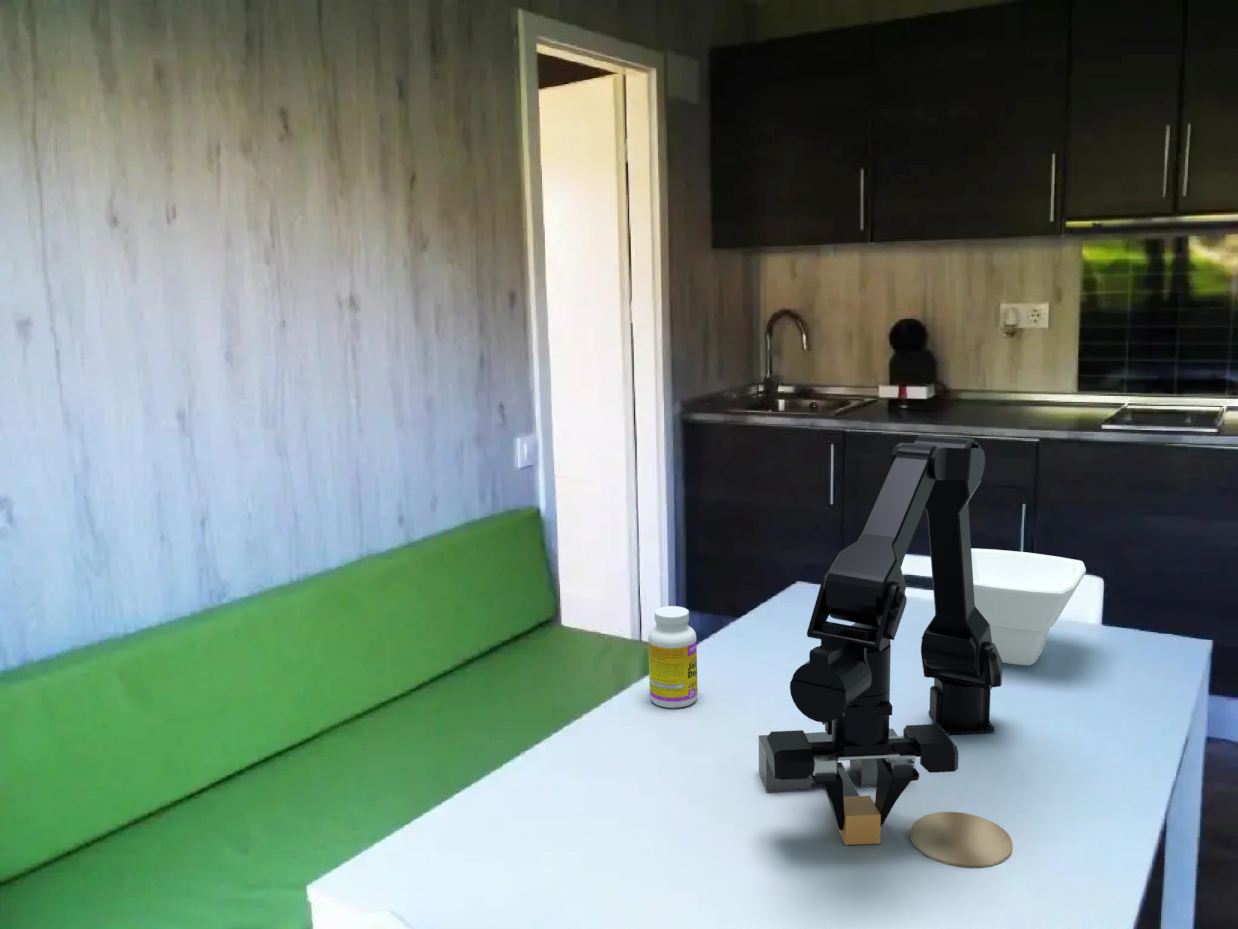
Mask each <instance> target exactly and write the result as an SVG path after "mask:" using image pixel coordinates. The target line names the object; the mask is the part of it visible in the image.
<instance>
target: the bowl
mask: <svg viewBox="0 0 1238 929" xmlns="http://www.w3.org/2000/svg"><path fill="white" fill-rule="evenodd" d="M971 554H972V570H973V586H974V601H975V607H976V608H977V609H978V611H979V612H980V613H981V614H982V615H983V617H984V618H985V619H986V620H987V622H988V623H989V625H990V631H991V638H992V643H994V644H995V646H996V648H997V650H998V653H999V655H1000V657H1001V660H1002V662H1003V664H1011V665H1018V666H1031V665H1033V664H1035V663H1036V661H1037V660H1038V659H1039V657H1040V656H1041V654H1042V653H1043V649H1044V646H1045V644H1046V641H1047V638H1048V636H1049V635H1048V634H1049V631H1050V629H1051V628H1053V627H1054V625H1055V624H1056V623H1057V621H1058V619H1059V618H1060V616H1061V615H1062V612H1063V611H1064V610H1065V607H1066V606H1067V604H1068V602H1069V601H1070V600H1071V598H1072V596H1073V595H1074V593H1075V591H1076V590H1077V588H1078V586H1079V585H1080V583H1081V581H1082V579H1083V578H1084V577H1085V574H1086V572H1087V569H1086V566H1085V563H1084V562H1083V561H1082V560H1080V559H1073V558H1068V557H1062V556H1057V555H1056V556H1054V555H1049V554H1042V553H1033V552H1025V551H1017V550H1016V551H1014V550H1003V549H993V548H991V549H990V548H972V547H971Z"/></svg>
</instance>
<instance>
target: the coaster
mask: <svg viewBox="0 0 1238 929" xmlns="http://www.w3.org/2000/svg"><path fill="white" fill-rule="evenodd" d="M909 836H910V840H911V842H912V844H913V846H915V848H916V849H917V850H918V851H920V853H922V854H923V855H925V856H926V857H929V858H930V859H932V860H935V861H937V862H939V863H942V864H946V865H948V866H954V867H960V868H977V869H979V868H980V869H981V868H987V867H992V866H995V865H998V864H1000V863H1002V862H1004V861H1006V859H1008V858H1009V857H1010V856H1011V855H1012V852H1013V841H1012V840H1013V839H1012V838H1011V836H1010V834H1009V833H1008V832H1007V831H1006V830H1005V829H1004V828H1003V827H1001V826H1000V825H998V824H997V823H995V822H994V821H992V820H989V819H987V818H985V817H981V816H979V815H975V814H970V813H967V812H966V813H965V812H957V811H940V812H939V811H938V812H933V813H930V814H926V815H923V816H922V817H919V818H918V819H916V820H915V821H914V822H913V823H912V825H911V827H910V835H909Z"/></svg>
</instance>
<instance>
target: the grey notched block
mask: <svg viewBox="0 0 1238 929" xmlns="http://www.w3.org/2000/svg"><path fill="white" fill-rule="evenodd" d="M804 733H805V735H806V737H807V739H808V741H809V742H827V741H832V735H828V734H827V733H826V731H820V732H804ZM768 735H769V734H761V735H758V773H759V776H760V779H761V781H762V783H763V787H764V789H765V791H766V793H777V792H779V793H780V792H782V793H783V792H799V791H801V792H802V791H811V790H812V780H811V778H810V776H809V777H808V778H807V779H789V780H780V779H777V778H775V777H774V775H773V772H772V770H771V767H770V765H769V762H768V759H767V757H766V738H767V737H768ZM890 736H899V735H898V734H897V732H896V731H895V729H894V728H889V737H890ZM849 768H850V770H851V772H852V774H853V775H854V777H855V779H856V780H857V782H858V784H859V786H860V788H873V787H874V788H876V785H877V775H878V769H877V759H863V760H849Z"/></svg>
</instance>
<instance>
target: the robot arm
mask: <svg viewBox="0 0 1238 929" xmlns="http://www.w3.org/2000/svg"><path fill="white" fill-rule="evenodd" d="M985 466H986V456H985V451H984V449H983V448H982V447H981V444H980V443H979V442H976V441H975V439H974V438H973V437H961V436H959V437H958V436H946V435H944V436H943V435H932V434H931V435H929V434H919V435H918V436H917V437H916V439H915V441H914V443H913V442H899V444H896V445H895V446H894V447H893V450H892V453H891V458H890V469H889V471H888V474H887V475H886V477H885V480H884V482H883V484H882V487H881V489H880V492H879V493H878V496H877V498H876V501H875V503H874V505H873V507H872V510H871V512H870V514H869V517H868V518H867V521H866V523H865V524H864V528H863V530H862V532H861V534H860V536H859V537H858V539H857V541H855V542H854V543H852V544H851V545H849V546H847V547H845V548H843V550H841V551H840V552H839V553H838V555H837V556H836V558H835V560H834V561H833V562H832V564H831V566H830V568H829V570H828V572H826V573H825V574H824V576H823V577H822V580H821V582H820V586H819V590H818V593H817V596H816V600H815V602H814V607H813V611H812V614H811V617H810V621H809V625H808V628H807V631H806V637H808V638H811V639H817V640H820V645H819V646H815V647H813V648H812V649H811V650H810V651H809V657H808V658H809V660H808V661H806V662H805V663H804V664H802V665H801V666H800V667H798V668H797V669H796V670H795V671H794V673H793V674H792V675H793V676H792V678H791V679H790V680H791V681H790V682H789V692H790V696H791V699H792V702H793V703H794V705H795V707H796V708H797V709H798V710H799V711H800V712H801V714H803V715H804V716H805V717H807V718H808V719H810V720H812V721H814V722H818V723H821V725H824V730H825V731H824V732H826V733H827V734H828V735H832V741H827V742H809V741H808V739H807V737H806V735H805V733H806V732H804V730H803V729H798V730H782V731H781V730H780V731H779V730H777V731H776V730H775V731H771V732H770V733H769V734H767V735H768V737H767V738H766V757H767V759H768V762H769V765H770V767H771V770H772V772H773V775H774V777H775V778H777V779H780V780H789V779H807V778H808V777H809V776H810V778H811V783H812V784H813V785H816V786H823V787H824V790H825V793H826V795H827V798H828V799H827V800H828V802H829V805H830V807H831V810H832V811H831V812H832V814H833V816H834V819H835V824H836V823H837V826H838V828H839V830H843V828H844V820H845V817H844V796H843V780H842V778H841V776H840V774H839V772H838V770H837V762H838V761H840V762H841V761H850V760H863V759H877V769H878V775H877V785H876V787H875V796H874V797H875V798H874V804H875V805H876V807H877V809H878V811H879V812H880V814H881V826H880V829H882V827H883V825H884V824H885V822H886V820H887V818H888V816H889V814H890V813H891V811H892V809H893V807H894V805H895V804H896V802H897V800H898V799H899V797H900V796H901V795H902V793H903V792H904V791H905V789H906V788H907V786H908V785H910V783H911V782H913V781H915V782H916V781H918V780H919V779H920V773H919V772H918V770H917V768H916V767H915V765H916V764H915V763H916V762H917V758H919V763H920V765H921V767H922V768H924V769H925V770H926V771H927V773H929V774H933V773H951V772H952V773H954V772H956V771H958V769H959V751H958V746H957V745H956V743H954V741H953V740H952V738H951V737H950V736H949V735H955V734H956V735H960V734H962V735H963V734H975V733H976V734H977V733H979V734H980V733H994V732H995V726H994V725H993V724H992V722H990V716H991V714H990V712H991V690H992V689H993V688H999V687H1002V685H1003V683H1002V682H1003V664H1004V663H1003V662H1002V660H1001V657H1000V655H999V653H998V650H997V648H996V646H995V644H994V643H992V638H991V631H990V625H989V623H988V622H987V620H986V619H985V618H984V617H983V615H982V614H981V613H980V612H979V611H978V609H977V608H976V607H975V601H974V586H973V570H972V554H971V548H972V543H971V527H970V524H971V523H970V511H969V510H970V509H969V501H970V500H971V499H972V497H973V495H974V493H975V492H976V490H977V489H978V487H979V486H980V484H981V483H982V477H983V474H984V471H985ZM924 510H925V511H926V515H927V518H926V519H927V526H928V528H927V529H928V538H929V539H928V540H929V550H930V551H929V552H930V554H929V555H930V564H931V575H932V577H931V578H932V588H933V589H932V590H933V600H934V603H933V604H934V616H933V618H932V619H931V621H930V622H929V624H928V625H927V627H926V628H925V629H924V631H923V635H922V636H921V644H920V653H921V654H920V655H921V660H922V669H923V677H924V678H926V679H927V678H932V679H934V680H933V685H931V686H930V687H929V688H930V689H929V710H928V716H929V717H930V718H931V719H932V721H934V723H931V724H910V725H909V724H908V725H907V724H906V725H905V727H904V728H903V732H902V734H903V735H898V736H890V737H889V729H890V716H893V704H892V703H891V700H890V699H891V696H890V695H891V646H892V645H891V640H892V641H894V640H895V637H896V635H897V632H898V629H899V626H900V623H901V620H902V618H903V616H904V615H903V614H904V612H905V610H906V609H905V608H906V605H907V601H908V600H907V596H906V589H907V585H906V581H905V577H904V574H903V571H902V565H903V563H904V560H905V556H906V554H907V552H908V549H909V547H910V544H911V542H912V539H913V537H914V535H915V532H916V530H917V527H918V525H919V522H920V519H921V517H922V514H923V513H924ZM829 617H830V618H832V619H834V620H839V621H845V622H850V623H853V624H852V625H849V624H843V623H839V622H832V621H828V619H829ZM837 826H836V827H837ZM838 828H837V829H838ZM839 830H838V831H839Z"/></svg>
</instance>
